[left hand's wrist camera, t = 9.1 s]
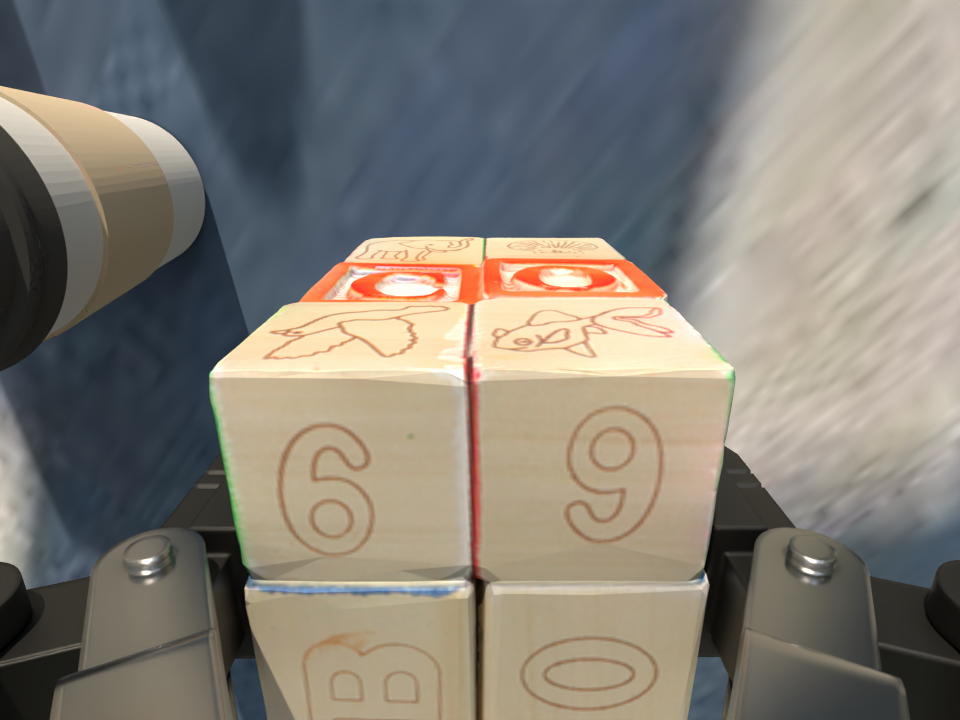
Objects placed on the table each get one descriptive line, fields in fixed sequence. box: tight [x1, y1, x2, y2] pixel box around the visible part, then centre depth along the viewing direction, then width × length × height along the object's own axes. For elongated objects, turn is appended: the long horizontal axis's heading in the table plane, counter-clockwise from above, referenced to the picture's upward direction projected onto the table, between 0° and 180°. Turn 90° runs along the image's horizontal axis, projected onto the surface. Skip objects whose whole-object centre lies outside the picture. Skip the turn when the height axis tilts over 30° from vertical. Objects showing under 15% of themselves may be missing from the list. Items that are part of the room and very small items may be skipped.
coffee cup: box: [0, 86, 205, 371], centre depth 22 cm, size 9×9×15 cm
